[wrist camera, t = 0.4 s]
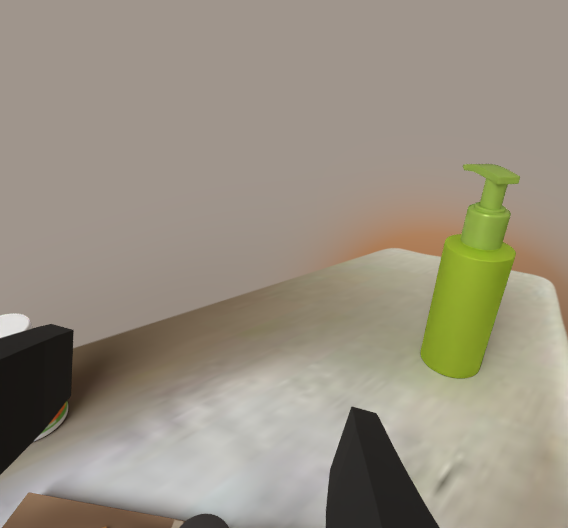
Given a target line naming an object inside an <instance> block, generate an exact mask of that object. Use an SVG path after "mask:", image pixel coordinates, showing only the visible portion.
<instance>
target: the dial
mask: <svg viewBox="0 0 568 528" xmlns="http://www.w3.org/2000/svg"><path fill="white" fill-rule="evenodd" d="M179 528H229V527H228V525H227V524H226V523H225V522H224V520H222V519H221V518H219V517H218V516H215V515H212V514H200V515H197V516H194V517H192V518H190V519H188V520H187V521H185V522H184V523H183V524H182V525H181V526H180V527H179Z"/></svg>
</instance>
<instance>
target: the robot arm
mask: <svg viewBox="0 0 568 528" xmlns="http://www.w3.org/2000/svg"><path fill="white" fill-rule="evenodd" d="M72 354H73V330H71V329H67V328H64V327H60V326H56V325H53V324H49V325H45V326H40V327H36V328H33V329H29V330H26V331H22V332H19V333H15V334H12V335H9V336H5V337H2V338H0V475H1V474H2V473H3V472H4V471H5V470H6V469H7V468H8V467H9V466H10V465H11V464H12V463H13V462H14V461H15V460H16V459H17V458H18V456H19V455H20V454H21V453H22V452H23V451H24V450H25V449H26V448H27V447H28V446H29V445H30V444H31V443H32V442H33V441H34V440H35V439H36V438H37V437H38V436H39V435H40V434H41V433H42V432H43V431H44V430H45V428H46V427H47V426H48V425H49V423H50V422H51V421H52V420H53V418H54V417H55V416H56V415H57V413H58V412H59V411H60V409H61V408H62V407H63V405H64V404H65V403H66V401H67V400H68V399H69V397H70V396H71V379H72ZM326 528H439V526H438V524H437V523H436V521H435V520H434V518H433V516H432V515H431V513H430V511H429V510H428V508H427V506H426V505H425V503H424V501H423V500H422V498H421V496H420V494H419V493H418V491H417V489H416V487H415V486H414V484H413V482H412V480H411V478H410V477H409V475H408V473H407V471H406V469H405V468H404V466H403V464H402V462H401V460H400V458H399V456H398V454H397V452H396V451H395V449H394V447H393V445H392V443H391V441H390V439H389V437H388V435H387V433H386V431H385V429H384V427H383V425H382V423H381V421H380V419H379V417H378V415H377V414H376V413H373V412H370V411H366V410H362V409H359V408H355V407H351V410H350V413H349V416H348V418H347V421H346V424H345V427H344V430H343V433H342V436H341V439H340V442H339V445H338V448H337V451H336V454H335V457H334V460H333V463H332V466H331V469H330V476H329V486H328V496H327V507H326Z"/></svg>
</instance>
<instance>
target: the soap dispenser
mask: <svg viewBox="0 0 568 528" xmlns="http://www.w3.org/2000/svg"><path fill="white" fill-rule="evenodd" d="M463 168H464V170H468V171H474V172H476V173H478V174H480V175H481V176H483V177H485V178H486V181H485V185H484V189H483V193H482V197H481V201H480V202H478V203H476V204H472V205H470V206H469V207H468V210H467V214H466V218H465V222H464V227H463V230H462V234H459V235H453V236H450V237H448V238H447V239H446V240H445V244H444V249H443V252H442V257H441V262H440V266H439V271H438V275H437V280H436V284H435V289H434V293H433V298H432V302H431V307H430V311H429V316H428V320H427V325H426V329H425V334H424V339H423V343H422V348H421V357H422V359H423V361H424V362H425V364H426V365H427V366H429V367H430V368H431V369H432V370H434V371H436V372H438V373H440V374H442V375H445V376H448V377H452V378H469V377H472V376H474V375H475V374H477V373H478V371H479V369H480V366H481V363H482V360H483V356H484V353H485V350H486V347H487V344H488V341H489V337H490V334H491V331H492V328H493V325H494V322H495V319H496V315H497V312H498V309H499V306H500V303H501V300H502V296H503V293H504V290H505V287H506V284H507V281H508V277H509V274H510V271H511V268H512V265H513V262H514V258H515V255H516V253H515V251H514V249H513V248H512V247H510V246H509V245H508V244H506V243H504V242H503V239H504V235H505V232H506V229H507V225H508V222H509V219H510V215H511V213H510V211H509V210H507V209H506V208H505V207H504V206H502V203H503V199H504V196H505V192H506V188H507V185H508V184H518V183H519V179H520V176H518V175H516V174H515V173H513V172H511V171H509V170H507V169H505V168H503V167H501V166H498V165H493V164H467V165H463Z"/></svg>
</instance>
